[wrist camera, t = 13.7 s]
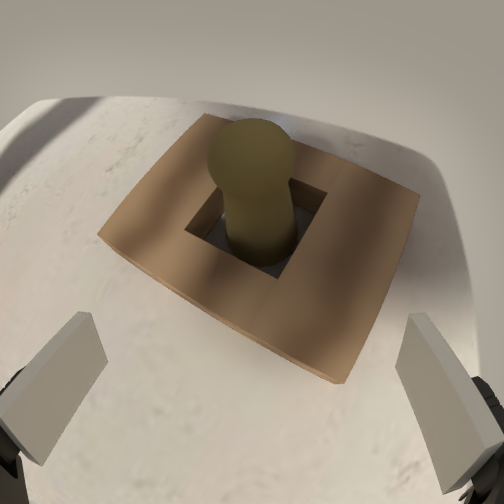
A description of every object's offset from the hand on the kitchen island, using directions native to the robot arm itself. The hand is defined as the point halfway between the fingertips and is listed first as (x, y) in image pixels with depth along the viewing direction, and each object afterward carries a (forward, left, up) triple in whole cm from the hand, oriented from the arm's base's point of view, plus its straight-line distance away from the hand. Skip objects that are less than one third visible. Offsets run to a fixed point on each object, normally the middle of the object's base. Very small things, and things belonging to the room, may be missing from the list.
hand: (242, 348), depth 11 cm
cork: (-5, +9, -11) cm, 15 cm away
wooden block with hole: (-6, +9, -11) cm, 15 cm away
